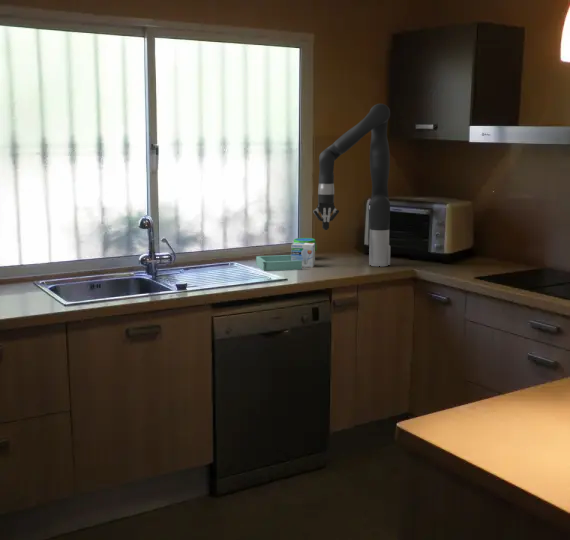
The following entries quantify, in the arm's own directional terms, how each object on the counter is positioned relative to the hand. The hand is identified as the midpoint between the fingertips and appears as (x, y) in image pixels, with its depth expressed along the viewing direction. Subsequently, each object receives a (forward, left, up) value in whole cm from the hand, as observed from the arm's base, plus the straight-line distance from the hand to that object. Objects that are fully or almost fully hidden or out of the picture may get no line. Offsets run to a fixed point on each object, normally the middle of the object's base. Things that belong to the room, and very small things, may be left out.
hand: (325, 229), depth 359 cm
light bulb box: (+11, 0, -17) cm, 20 cm away
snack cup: (+5, -18, -17) cm, 25 cm away
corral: (+23, 0, -17) cm, 29 cm away
